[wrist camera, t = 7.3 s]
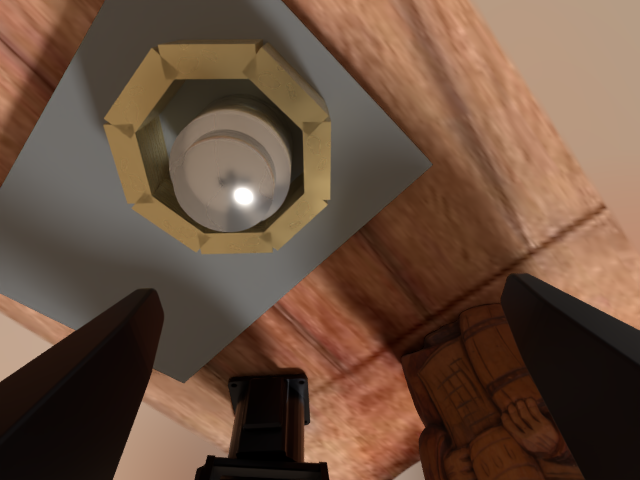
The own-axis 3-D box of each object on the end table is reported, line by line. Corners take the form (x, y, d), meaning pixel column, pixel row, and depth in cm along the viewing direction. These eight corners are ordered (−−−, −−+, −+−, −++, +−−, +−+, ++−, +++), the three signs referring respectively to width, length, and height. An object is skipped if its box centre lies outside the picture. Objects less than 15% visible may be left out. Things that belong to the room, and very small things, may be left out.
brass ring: (326, 222, 21) (329, 251, 19) (163, 226, 21) (143, 255, 19) (327, 38, 16) (332, 43, 14) (114, 40, 16) (78, 45, 14)
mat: (188, 367, 30) (183, 383, 28) (-27, 256, 23) (-46, 270, 22) (425, 155, 21) (433, 164, 20) (182, -107, 15) (171, -119, 14)
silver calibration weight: (295, 189, 20) (292, 242, 16) (203, 192, 20) (173, 246, 15) (289, 92, 18) (284, 121, 13) (184, 95, 17) (140, 125, 13)
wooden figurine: (516, 277, 26) (819, 655, 11) (553, 324, 29) (838, 683, 13) (382, 357, 30) (465, 719, 15) (426, 392, 33) (534, 730, 17)
